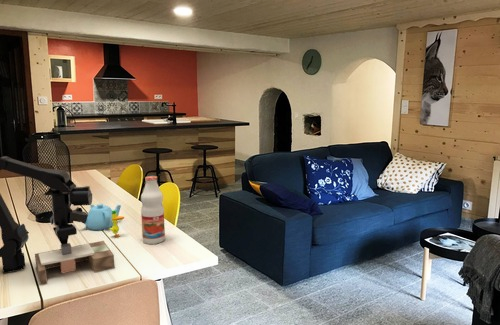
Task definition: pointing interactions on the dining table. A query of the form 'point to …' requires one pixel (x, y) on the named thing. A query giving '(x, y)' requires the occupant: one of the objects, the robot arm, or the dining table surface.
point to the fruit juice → (152, 212)
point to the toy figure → (115, 223)
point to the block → (67, 265)
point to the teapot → (100, 217)
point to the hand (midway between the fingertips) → (64, 247)
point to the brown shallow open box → (98, 261)
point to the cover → (65, 253)
